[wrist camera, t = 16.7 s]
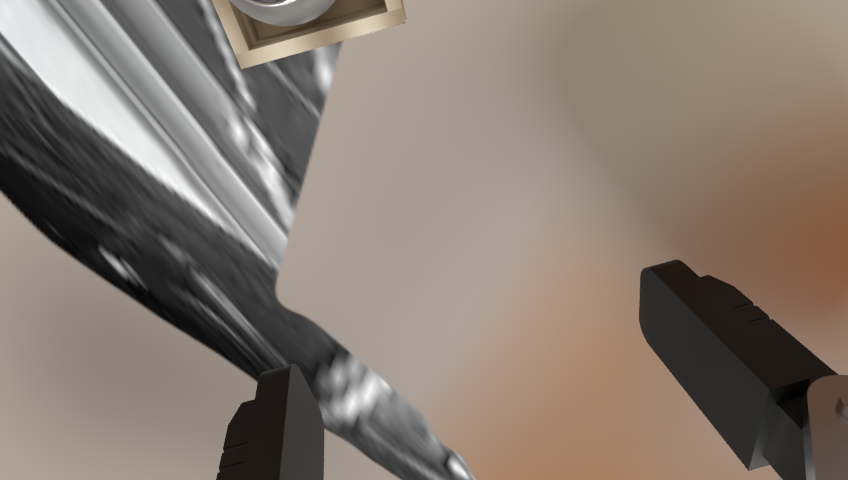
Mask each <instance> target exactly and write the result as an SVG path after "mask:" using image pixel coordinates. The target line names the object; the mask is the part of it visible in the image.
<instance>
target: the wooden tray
mask: <svg viewBox="0 0 848 480" xmlns="http://www.w3.org/2000/svg"><path fill="white" fill-rule="evenodd" d="M212 2H213V4H214V6H215V9H216V11H217V13H218V16H219V18H220V20H221V23H222V25H223V27H224V30H225V32H226V34H227V37H228V39H229V41H230V44H231V46H232V48H233V51H234V53H235V55H236V58H237V60H238V62H239V65H240V67H241V69H244V68H247V67H251V66H254V65H258V64H261V63H265V62H269V61H272V60H276V59H279V58H283V57H286V56H290V55H293V54H297V53H301V52H304V51H308V50H311V49H315V48H318V47H322V46H326V45H329V44H333V43H336V42H340V41H343V40H347V39H350V38H354V37H358V36H361V35H365V34H368V33H372V32H375V31H379V30H383V29H386V28H390V27H393V26H397V25H400V24H404V23H405V20H406V14H405V11H404V6H403V2H402V0H335V2H334V3H333V4H332V5H331V6H330V7H329V8H328V10H327V11H326V12H324V13H323V14H321V15H320V16H319V17H317V18H316V19H313V20H311V21H309V22H306V23H304V24H299V25H294V26H277V25H273V24H268V23H264V22H262V21H259V20H257V19H254V18H252V17H250V16H249V15H247V14H245V13H244V12H242V11H241V10H239V9H238V8H237V7H236V6H235V5H234V4H233V3H231V2H230V1H229V0H212Z"/></svg>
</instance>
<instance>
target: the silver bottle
mask: <svg viewBox="0 0 848 480" xmlns="http://www.w3.org/2000/svg"><path fill="white" fill-rule="evenodd" d="M229 1H230V2H231V3H233V4H234V5H235V6H236V7H237V8H238V9H239V10H241V11H242V12H244V13H245V14H247V15H249V16H250V17H252V18H254V19H257V20H259V21H262V22H264V23H268V24H273V25H277V26H294V25H299V24H304V23H306V22H309V21H311V20H313V19H316V18H317V17H319V16H320V15H321V14H323V13H324V12H326V11H327V10H328V8H329V7H330V6H331V5H332V4H333V3H334V2H335V0H229Z"/></svg>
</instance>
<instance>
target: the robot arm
mask: <svg viewBox="0 0 848 480" xmlns="http://www.w3.org/2000/svg"><path fill="white" fill-rule="evenodd" d="M639 307H640V308H639V321H640V326H641V330H642V333H643V335H644V337H645V339H646V341H647V342H648V344H649V345H650V347H651V348H652V349H653V350H654V352H655V353H656V354H657V356H658V357H659V358H660V359H661V361H662V362H663V363H664V364H665V366H666V367H667V368H668V369H669V371H670V372H671V373H672V374H673V375H674V377H675V378H676V379H677V381H678V382H679V383H680V385H681V386H682V387H683V388H684V390H685V391H686V392H687V393H688V395H689V396H690V397H691V398H692V400H693V401H694V402H695V403H696V405H697V406H698V407H699V409H700V410H701V411H702V412H703V414H704V415H705V416H706V417H707V419H708V420H709V421H710V422H711V424H712V425H713V426H714V428H715V429H716V430H717V431H718V433H719V434H720V435H721V436H722V438H723V439H724V440H725V441H726V443H727V444H728V445H729V446H730V448H731V449H732V450H733V451H734V453H735V454H736V455H737V457H738V458H739V459H740V460H741V462H742V463H743V464H744V465H745V467H746V468H747V469H748V470H753V469H756V468H759V467H763V466H767V465H771V466H772V467H773V469H774V470H775V471H776V472H777V473H778V475H779V476H780V479H779V480H848V375H838V374H837V373H836V372H834V371H833V370H832V369H831V368H829V367H828V366H827V365H826V364H825V363H823V362H822V361H821V360H820V359H819V358H818V357H816V356H815V355H814V354H813V353H812V352H811V351H809V350H808V349H807V348H806V347H804V345H802V344H801V343H800V342H799V341H798V340H796V339H795V338H794V337H793V336H792V335H791V334H789V333H788V332H787V331H786V330H785V329H783V328H782V327H781V326H780V325H779V324H778V323H776V322H775V321H774V320H773V319H772V320H770V319H769V316H768V315H767V314H766V313H764V312H763V311H762V310H761V309H760V308H759V307H758V306H754V305H753V302H752V301H751V300H749V299H748V298H747V297H746V296H745V295H743V294H742V293H741V292H740V291H739V290H738V289H736V288H735V287H734V286H732V285H730V284H728V283H725V282H723V281H721V280H719V279H716V278H714V277H712V276H710V275H707V276H703V277H699V276H698V275H697V274H696V273H694V272H693V271H692V270H691V269H690V268H689V267H688V266H687V265H686V264H684V263H683V262H682V261H680V260H673V261H670V262H666V263H662V264H658V265H654V266H651V267H647V268H644V269H643V270H642V272H641V277H640V306H639ZM223 449H224V453H222V456H221V461H220V466H219V470H220V472H219V473H218V474H217V479H216V480H323V476H324V425H323V419H322V415H321V412H320V409H319V406H318V404H317V402H316V400H315V398H314V396H313V394H312V393H311V391H310V389H309V387H308V385H307V383H306V381H305V379H304V377H303V375H302V373H301V371H300V369H299V367H298V366H297V365H296V364H291V365H288V366H284V367H281V368H277V369H273V370H270V371H266V372H262V373H261V374H260V376H259V379H258V385H257V390H256V397H255V400H251V401H247V402H244V403H242V404H241V405H240V407H239V408H238V410H237V412H236V413H235V415H234V417H233V419H232V420H231V422H230V423H229V425H228V428H227V433H226V438H225V442H224V447H223Z"/></svg>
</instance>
